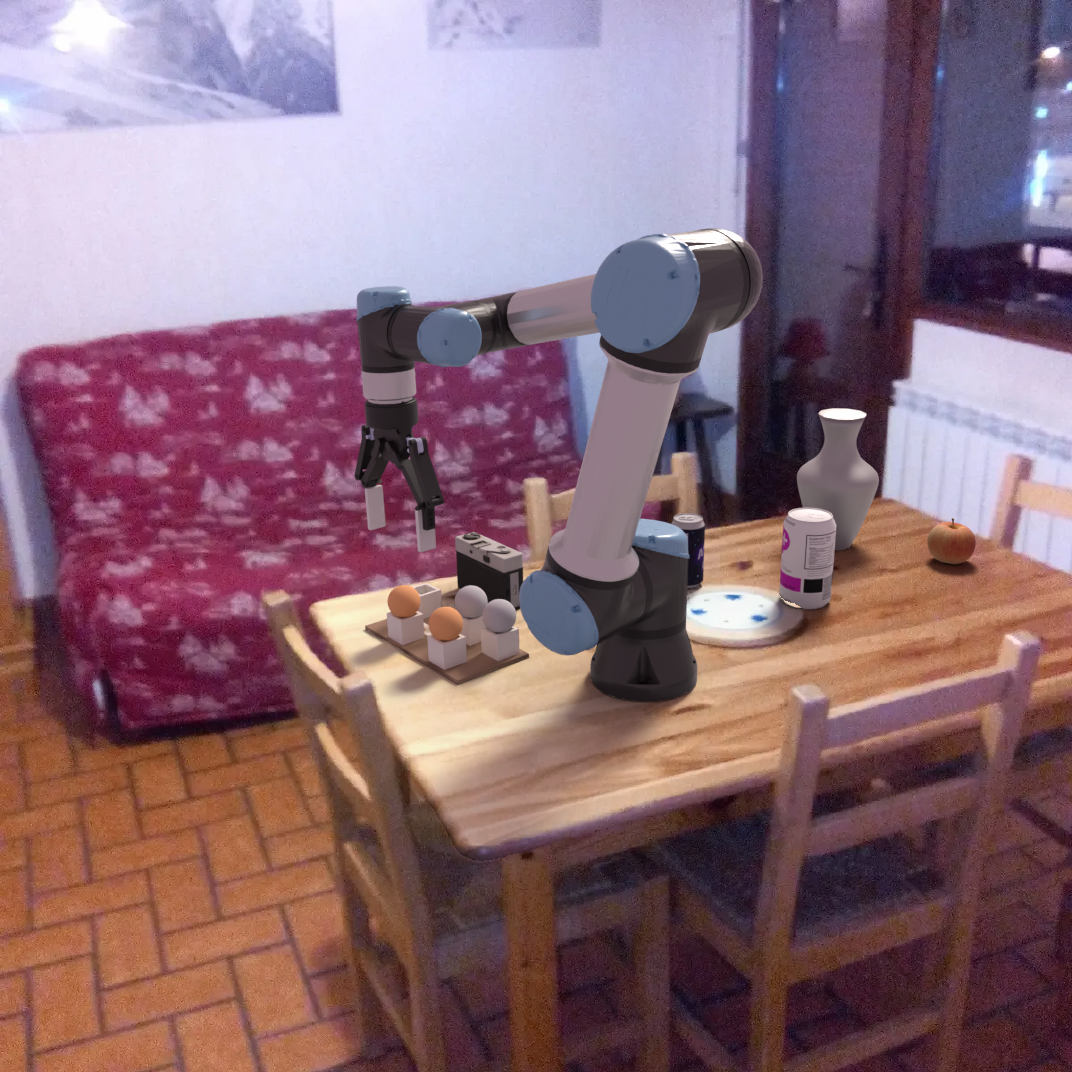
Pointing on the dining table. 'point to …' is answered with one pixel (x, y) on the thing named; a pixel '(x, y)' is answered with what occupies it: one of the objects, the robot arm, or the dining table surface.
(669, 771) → the dining table surface
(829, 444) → the vase
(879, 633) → the dining table surface
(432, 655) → the tubes
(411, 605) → the orange ball
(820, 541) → the supplement can
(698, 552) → the beverage can
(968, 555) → the apple
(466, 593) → the grey ball
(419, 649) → the rack board
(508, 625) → the grey ball
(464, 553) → the camera
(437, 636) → the orange ball
